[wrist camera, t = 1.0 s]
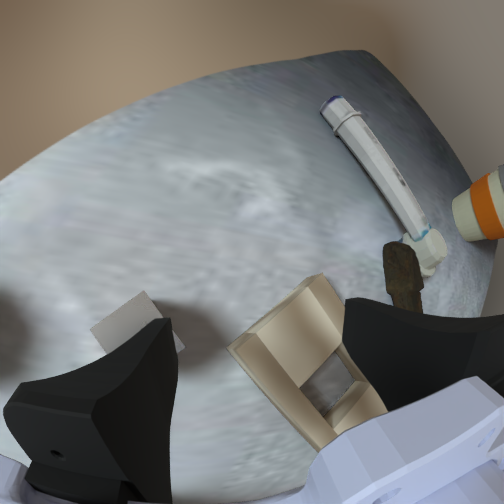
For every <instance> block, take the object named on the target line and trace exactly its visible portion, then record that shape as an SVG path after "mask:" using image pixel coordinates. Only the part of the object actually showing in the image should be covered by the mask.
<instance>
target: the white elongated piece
mask: <svg viewBox="0 0 504 504" xmlns="http://www.w3.org/2000/svg"><path fill="white" fill-rule="evenodd" d="M319 111H320V114H321V115H322V116H323V117H324V119H325V120H326V121H327V122H328V124H329V125H330V126H331V127H332V128H333V132H334V135H335V136H339V137H340V138H341V139H342V141H343V142H344V143H345V144H346V146H347V147H348V148H349V149H350V151H351V152H352V153H353V154H354V156H355V157H356V158H357V160H358V161H359V162H360V163H361V165H362V166H363V167H364V169H365V170H366V171H367V173H368V174H369V176H370V177H371V178H372V180H373V181H374V182H375V184H376V185H377V187H378V188H379V189H380V191H381V192H382V194H383V195H384V197H385V198H386V200H387V201H388V203H389V204H390V206H391V207H392V209H393V210H394V212H395V213H396V215H397V216H398V218H399V219H400V221H401V223H402V224H403V226H404V227H405V229H406V231H407V232H406V233H405V234H404V235H403V238H401V239H400V240H399V241H398V242H400V243H404V244H407V245H410V247H411V248H412V249H414V251H415V252H416V256H417V258H418V260H419V266H420V270H421V275H422V277H427V278H428V277H430V276H432V274H433V273H434V272H435V269H436V265H438V264H439V263H441V262H442V261H443V260H444V258H445V257H446V255H447V247H446V243H445V241H444V239H443V237H442V235H441V234H440V233H439V232H438V231H437V230H436V229H432V228H431V226H430V224H429V222H428V220H427V219H426V217H425V215H424V213H423V211H422V209H421V208H420V206H419V204H418V202H417V201H416V199H415V197H414V195H413V194H412V192H411V190H410V189H409V187H408V185H407V184H406V182H405V180H404V179H403V177H402V175H401V174H400V172H399V171H398V169H397V168H396V166H395V165H394V163H393V162H392V160H391V159H390V157H389V156H388V154H387V153H386V151H385V150H384V148H383V147H382V145H381V144H380V143H379V141H378V140H377V138H376V137H375V136H374V134H373V133H372V131H371V130H370V129H369V127H368V126H367V125H366V123H365V122H364V121H363V120H362V118H361V113H360V112H356V111H355V110H354V109H353V108H352V107H351V106H350V104H349V103H348V102H347V101H346V100H345V99H344V98H343V97H342V96H333V97H332V98H330V99H328V100H327V101H325V102H324V104H323V105H322V107H321V108H320V109H319Z"/></svg>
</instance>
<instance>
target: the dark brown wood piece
mask: <svg viewBox="0 0 504 504" xmlns="http://www.w3.org/2000/svg"><path fill="white" fill-rule="evenodd" d="M383 267H384V273H385V282H386V291H387V293H388V294H390V295H391V297H392V300H393V303H394V307H398V308H402V309H405V310H409V311H413V312H418V313H422V314H423V309H422V301H421V293H420V292H419V291H420V290H421V289H423V288H424V284H423V279H422V275H421V270H420V266H419V260H418V258H417V256H416V252H415V251H414V249H412V248H411V247H410V245H407V244H404V243H400V242H397V241H393V242H390V243H387V244H385V245H384V247H383Z"/></svg>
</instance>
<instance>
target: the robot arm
mask: <svg viewBox="0 0 504 504" xmlns="http://www.w3.org/2000/svg"><path fill="white" fill-rule="evenodd" d="M342 342H343V344H344V346H345V348H346V350H347V352H348V354H349V356H350V358H351V359H352V360H353V362H354V363H355V364H356V366H357V367H358V368H359V370H360V371H361V372H362V374H363V375H364V376H365V378H366V379H367V380H368V381H369V383H370V384H371V385H372V387H373V388H374V389H375V391H376V392H377V394H378V395H379V397H380V398H381V400H382V402H383V403H384V405H385V407H386V409H387V411H388V412H387V413H384V414H381V415H379V416H376V417H373V418H370V419H368V420H366V421H364V422H362V423H360V424H358V425H355V426H353V427H351V428H349V429H347V430H344V431H343V432H342V433H341V434H339V435H338V436H337V437H336V438H334V439H333V440H332V441H330V442H329V443H328V444H326V445H325V446H324V447H323V448H322V449H321V450H320V452H319V453H318V455H317V457H316V458H315V460H314V461H313V463H312V464H311V466H310V467H309V471H308V476H307V481H306V484H305V485H303V486H300V487H297V488H295V489H292V490H289V491H286V492H283V493H280V494H276V495H273V496H270V497H266V498H263V499H259V500H253V501H245V502H235V503H222V504H504V314H502V315H496V316H489V317H477V318H455V317H441V316H434V315H428V314H422V313H418V312H413V311H409V310H405V309H402V308H398V307H394V306H391V305H388V304H384V303H381V302H377V301H374V300H370V299H366V298H359V297H357V298H351V299H346V300H345V312H344V323H343V333H342ZM177 381H178V357H177V352H176V347H175V342H174V336H173V331H172V325H171V319H170V318H155V319H154V320H152V321H151V322H149V323H148V324H147V325H146V326H145V327H143V328H142V329H141V330H140V331H139V332H137V333H136V334H135V335H134V336H133V337H131V338H130V339H129V340H127V341H126V342H125V343H123V344H122V345H120V346H119V347H118V348H116V349H115V350H113V351H112V352H110V353H109V354H107V355H105V356H104V357H102V358H100V359H98V360H96V361H94V362H92V363H90V364H88V365H85V366H83V367H81V368H79V369H76V370H74V371H71V372H68V373H65V374H62V375H58V376H55V377H51V378H47V379H42V380H36V381H30V382H24V383H21V384H20V385H19V386H18V388H17V389H16V391H15V392H14V393H13V395H12V396H11V398H10V399H9V401H8V402H7V404H6V405H5V407H4V408H3V416H4V419H5V422H6V425H7V427H8V428H9V430H10V432H11V434H12V435H13V436H14V438H15V439H16V441H17V442H18V443H19V445H20V446H21V447H22V449H23V450H24V451H25V453H26V454H27V455H28V457H29V458H30V459H31V460H32V462H31V464H30V467H29V468H28V467H26V466H25V465H24V464H22V463H20V462H18V461H16V460H13V459H11V458H8V457H6V456H3V455H1V454H0V504H172V495H171V480H170V425H171V418H172V412H173V405H174V400H175V394H176V388H177Z"/></svg>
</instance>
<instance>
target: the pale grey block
mask: <svg viewBox="0 0 504 504" xmlns="http://www.w3.org/2000/svg"><path fill="white" fill-rule="evenodd" d="M155 318H163V316H162V315H161V314H160V312H159V311H158V309H157V308H156V307H155V305H154V304H153V302H152V301H151V299H150V298H149V297H148V295H147V294H146V292H145V291H142V292H141V293H140V294H138V295H137V296H135V297H134V298H133V299H131V300H130V301H128V302H127V303H125V304H124V305H123V306H121V307H120V308H118V309H117V310H116V311H114V312H113V313H111V314H110V315H109V316H107V317H106V318H105V319H103V320H102V321H100V322H99V323H98V324H96V325H95V326H94V327H92V328H91V329H90V331H91V332H92V333H93V335H94V336H95V338H96V339H97V341H98V342H99V344H100V345H101V346H102V348H103V349H104V351H105V352H106V353H107V354H109V353H110V352H112V351H113V350H115V349H116V348H118V347H119V346H120V345H122V344H123V343H125V342H126V341H127V340H129V339H130V338H131V337H133V336H134V335H135V334H136V333H137V332H139V331H140V330H141V329H142V328H143V327H145V326H146V325H147V324H148V323H149V322H151V321H152V320H154V319H155ZM172 331H173V330H172ZM173 336H174V342H175V347H176V352H177V353H179V352H180V351H181V350H183V349H184V348H185V345H184V344H183V343H182V342H181V340H180V339H179V338H178V336H177V335H176V334H175V332H174V331H173Z"/></svg>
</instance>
